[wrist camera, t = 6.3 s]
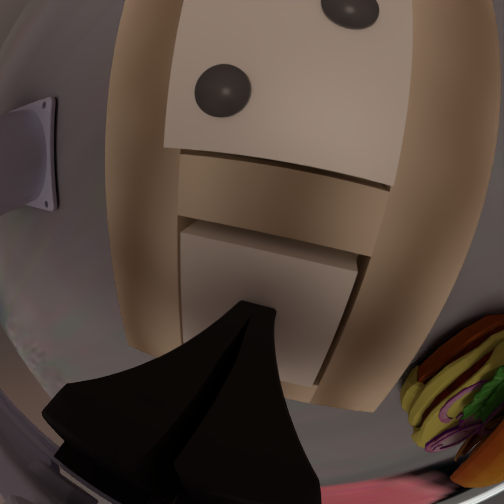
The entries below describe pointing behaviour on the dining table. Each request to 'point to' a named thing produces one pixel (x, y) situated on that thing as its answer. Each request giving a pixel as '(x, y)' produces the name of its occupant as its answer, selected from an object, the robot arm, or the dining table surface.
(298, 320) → the one dot tile
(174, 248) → the tile board
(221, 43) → the two dot tile
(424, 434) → the cheeseburger
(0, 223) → the dining table surface
